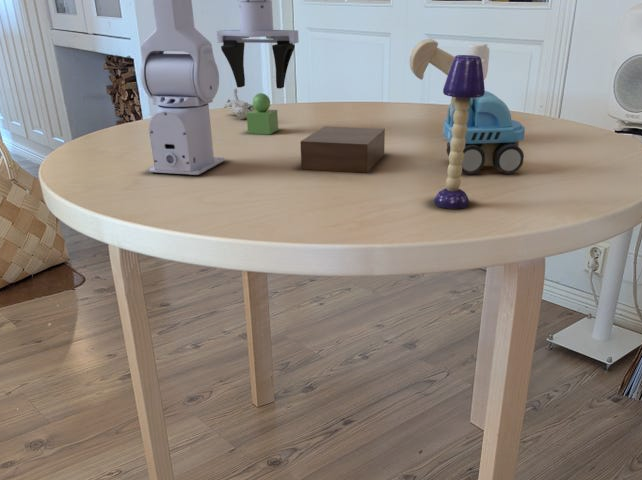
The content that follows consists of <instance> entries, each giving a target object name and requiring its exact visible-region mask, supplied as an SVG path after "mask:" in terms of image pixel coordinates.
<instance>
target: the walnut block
mask: <svg viewBox="0 0 642 480" xmlns="http://www.w3.org/2000/svg"><path fill="white" fill-rule="evenodd" d="M385 136H386V129H385V128H375V127H373V128H371V127H346V126H328V125H327V126H326V125H325V126H322V127H321V128H319V129H317V130H316V131H314V132H312V133H311V134H310V135H308V136H307V137H305V138H303V139H302V140H301V141H300V167H301V170H307V171H309V170H311V171H325V172H326V171H327V172H328V171H329V172H344V173H360V174H364V173H365V174H367V173H368V172H370V170H371V169H372V168H373V167H374V166H375V165H376V164H377V163H378V162H379V161H380V160H381V159H382V158H383V157H384V156H385V144H386V143H385V142H386V140H385V139H386V137H385Z"/></svg>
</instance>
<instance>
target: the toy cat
mask: <svg viewBox="0 0 642 480" xmlns="http://www.w3.org/2000/svg"><path fill="white" fill-rule="evenodd" d="M232 95H233V99H234V100H231V99H229V98H228V99H227V100H226V101H225V104H224V105H223V108H224V109H227V108H232V109H231V110H232V113H231V115H232V116H236V117H237V118H238V119H240V120H245V119H247V113H248V112H250V111H252V110H255V108H254V106H253V103H249V102H247V101H243V100H240V99H239V96H238V88H237V87H236V88H234V89H233V93H232Z"/></svg>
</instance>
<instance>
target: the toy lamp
mask: <svg viewBox="0 0 642 480" xmlns="http://www.w3.org/2000/svg"><path fill="white" fill-rule="evenodd" d="M446 76H447V75H446ZM485 89H486V88H485V79H484V78H483V69H482V61H481V58H480V57H479V56H473V55H469V54H459V55H458V54H457V55H455V56H454V59H453V62H452V65H451V68H450V70H449V73H448V76H447V77H446V79H445V81H444V85H443V89H442V93H443V95H444V96H447V97H451V98H452V97H456V99H455V108H456V110H455V112H454V115H453V120H454V125H453V127H452V135H453V137H452V139H451V143H450V147H451V152H450V154H449V156H448V163H449V164H448V166H447V169H446V170H447V171H446V173H447V178H446V181H445V187H446V188H443V189H441V190H440V191H438V192H437V194H435V198H434V200H433V204H434V206H437V207H438V208H443V209H447V210H448V209H449V210H450V209H451V210H459V209H465V208H467V207H468V206H469V205H470V200H469V197H468V195H467V193H466V192H465V191H464V190H462V189H460V187H461V178H460V177H461V176H462V173H463V172H462V165H461V164H462V162H463V159H464V153H463V150H464V148H465V144H466V141H465V136H466V133H467V125H466V123H467V121H468V118H469V113H468V108H469V106H470V98H477V97H482V96H483V95H484V93H485V91H486V90H485Z"/></svg>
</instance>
